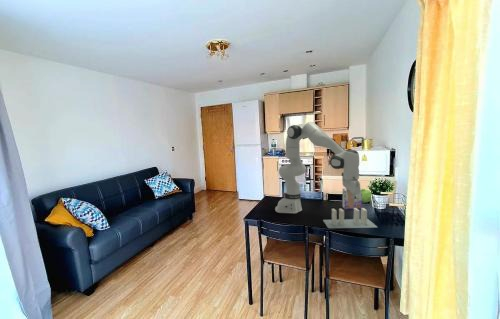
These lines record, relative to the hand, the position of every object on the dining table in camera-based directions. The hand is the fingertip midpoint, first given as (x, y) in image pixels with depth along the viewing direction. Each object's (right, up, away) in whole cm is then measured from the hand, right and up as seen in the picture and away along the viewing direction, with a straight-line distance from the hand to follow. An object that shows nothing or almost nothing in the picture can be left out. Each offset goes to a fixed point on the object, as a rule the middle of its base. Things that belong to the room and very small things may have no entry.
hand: (350, 196), depth 141 cm
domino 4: (+9, -20, +12) cm, 26 cm away
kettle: (+37, -14, +57) cm, 70 cm away
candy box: (+20, -17, +42) cm, 50 cm away
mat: (+4, -21, +13) cm, 25 cm away
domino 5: (+14, -20, +12) cm, 28 cm away
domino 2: (-1, -21, +13) cm, 24 cm away
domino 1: (-6, -21, +13) cm, 25 cm away
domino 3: (0, -6, +1) cm, 6 cm away
